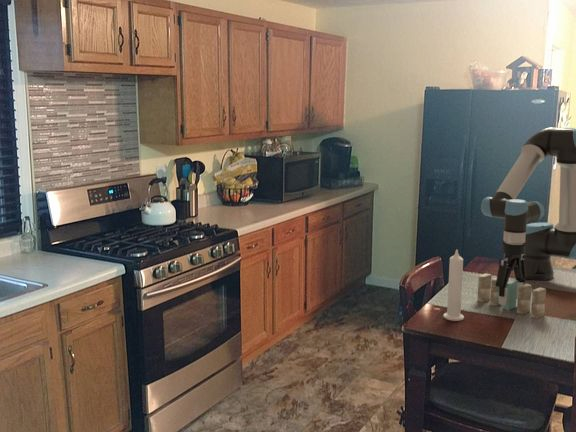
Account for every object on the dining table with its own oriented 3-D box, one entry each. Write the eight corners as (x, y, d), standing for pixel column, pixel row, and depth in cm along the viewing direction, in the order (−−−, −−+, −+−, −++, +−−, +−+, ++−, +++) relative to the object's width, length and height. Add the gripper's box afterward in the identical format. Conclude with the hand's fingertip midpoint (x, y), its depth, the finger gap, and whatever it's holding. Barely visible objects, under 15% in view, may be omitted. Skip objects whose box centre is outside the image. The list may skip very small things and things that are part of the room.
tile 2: (516, 312, 212) (518, 286, 210) (524, 309, 215) (526, 283, 213) (522, 314, 211) (524, 287, 209) (529, 311, 214) (531, 285, 212)
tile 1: (530, 317, 208) (532, 290, 206) (538, 313, 211) (540, 287, 209) (536, 318, 206) (538, 291, 204) (544, 315, 209) (546, 288, 207)
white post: (453, 322, 204) (456, 252, 199) (439, 316, 210) (442, 248, 205) (468, 318, 207) (472, 250, 202) (454, 312, 213) (457, 245, 208)
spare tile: (503, 308, 217) (504, 282, 215) (510, 305, 220) (512, 280, 218) (508, 310, 215) (510, 284, 213) (516, 307, 218) (517, 281, 216)
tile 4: (489, 304, 221) (491, 279, 219) (497, 301, 224) (499, 276, 222) (495, 306, 219) (496, 280, 217) (502, 303, 222) (504, 278, 220)
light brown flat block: (477, 300, 225) (478, 275, 223) (485, 298, 228) (486, 273, 226) (482, 302, 223) (483, 277, 221) (490, 299, 226) (491, 274, 224)
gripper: (521, 236, 222) (517, 292, 226) (487, 245, 209) (483, 305, 213) (539, 239, 216) (535, 297, 220) (506, 249, 203) (502, 310, 207)
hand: (510, 301), depth 217 cm, fingers open, 9 cm apart
